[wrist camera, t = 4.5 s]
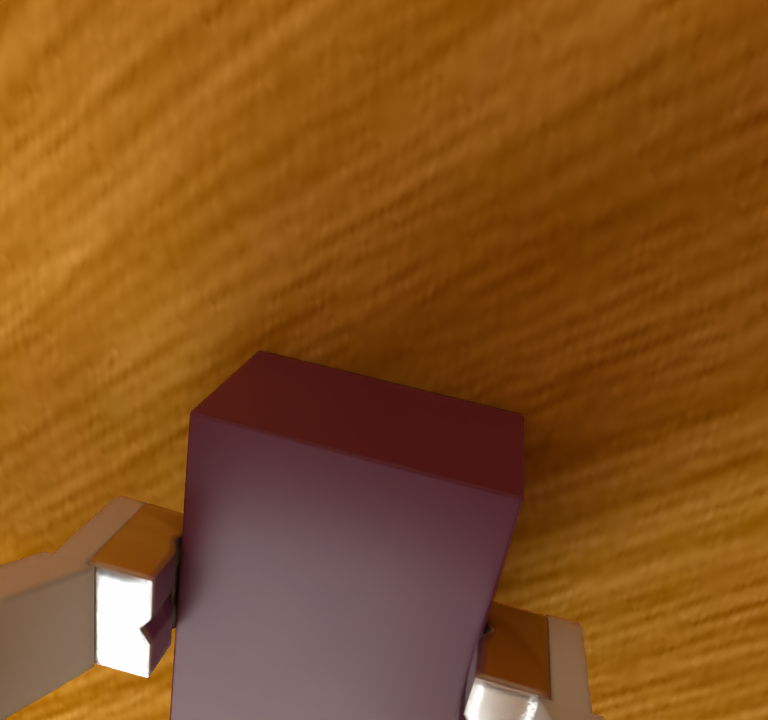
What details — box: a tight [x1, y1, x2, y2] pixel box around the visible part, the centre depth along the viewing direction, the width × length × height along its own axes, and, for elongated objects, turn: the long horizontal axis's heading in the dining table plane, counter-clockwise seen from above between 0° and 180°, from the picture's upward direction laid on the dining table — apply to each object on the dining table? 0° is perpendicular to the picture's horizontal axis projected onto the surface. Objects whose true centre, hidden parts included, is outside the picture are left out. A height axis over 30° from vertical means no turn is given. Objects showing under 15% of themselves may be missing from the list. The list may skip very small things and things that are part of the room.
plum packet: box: [170, 351, 524, 720], centre depth 11 cm, size 6×4×2 cm
